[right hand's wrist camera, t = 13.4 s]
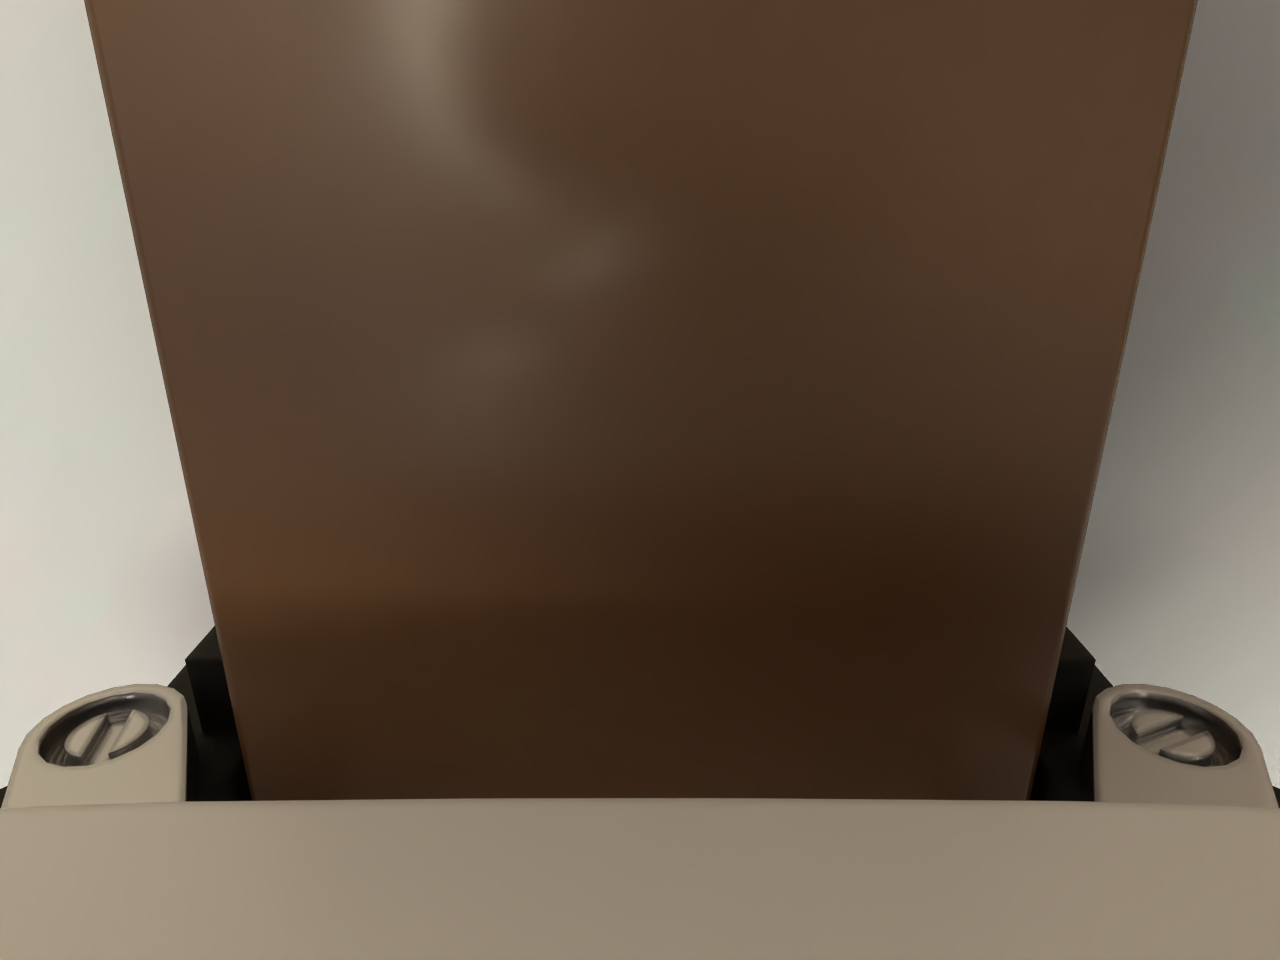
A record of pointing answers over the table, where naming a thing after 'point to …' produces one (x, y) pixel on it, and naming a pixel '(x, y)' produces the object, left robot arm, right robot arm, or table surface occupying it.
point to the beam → (640, 375)
